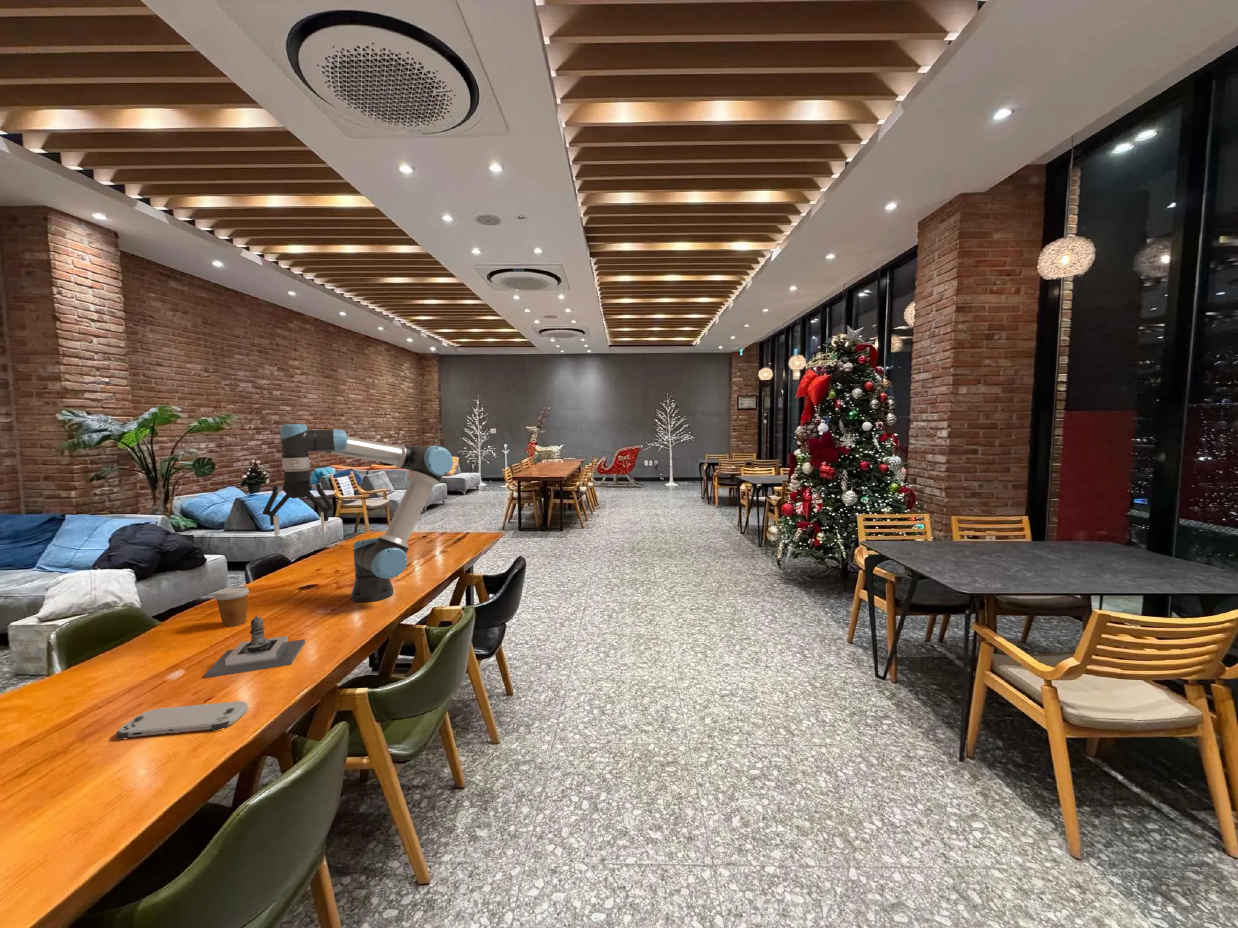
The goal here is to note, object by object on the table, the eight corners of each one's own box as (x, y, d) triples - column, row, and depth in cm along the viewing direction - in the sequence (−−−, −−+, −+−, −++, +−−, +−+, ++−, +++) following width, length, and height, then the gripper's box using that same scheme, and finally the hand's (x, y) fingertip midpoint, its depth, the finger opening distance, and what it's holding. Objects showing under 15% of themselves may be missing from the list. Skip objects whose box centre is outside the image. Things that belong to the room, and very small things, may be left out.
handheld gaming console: (253, 696, 121) (227, 719, 111) (254, 707, 121) (228, 731, 111) (146, 705, 118) (109, 730, 108) (147, 716, 118) (110, 742, 108)
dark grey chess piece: (276, 652, 148) (273, 612, 148) (256, 660, 143) (253, 619, 142) (262, 649, 150) (259, 610, 149) (241, 658, 145) (238, 617, 144)
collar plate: (305, 642, 157) (304, 631, 157) (291, 664, 142) (290, 652, 142) (227, 653, 151) (227, 641, 150) (205, 677, 136) (204, 665, 135)
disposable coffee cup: (258, 618, 179) (255, 585, 178) (235, 629, 169) (232, 594, 168) (233, 618, 180) (231, 585, 179) (209, 628, 170) (206, 594, 169)
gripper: (248, 473, 161) (253, 538, 162) (336, 469, 169) (340, 531, 171) (255, 471, 168) (260, 534, 169) (340, 467, 176) (344, 527, 178)
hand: (300, 533), depth 170 cm, fingers open, 13 cm apart
